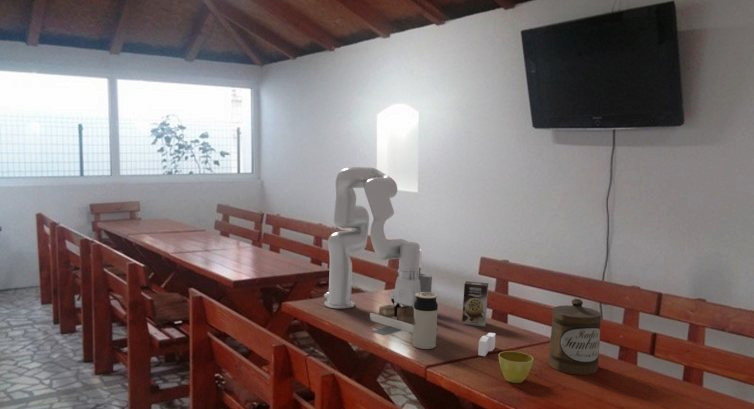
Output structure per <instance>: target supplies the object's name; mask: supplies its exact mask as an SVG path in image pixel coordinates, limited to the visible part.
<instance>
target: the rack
mask: <svg viewBox="0 0 754 409" xmlns="http://www.w3.org/2000/svg"><path fill="white" fill-rule="evenodd" d="M369 321H371V322H375V323H377V324H381V325H385V326H386V327H389V326H390V327H394V328H397V329H400V330H401V331H405V332H408V333H411V334H413V325H412V324H409V323H405V322H402V321H398V320H397V317H391V318H388V317H384V316H381V315H378V313H374V312H370V313H369Z"/></svg>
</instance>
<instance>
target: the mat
mask: <svg viewBox="0 0 754 409" xmlns="http://www.w3.org/2000/svg"><path fill="white" fill-rule="evenodd" d="M400 331H402V330H401V329H397V328H394V327H391V326H385V327H381V328H378V329H377V328H376V329H373V330H371V333H375V334H378V335H380V336H385V335H389V334H393V333H397V332H400Z"/></svg>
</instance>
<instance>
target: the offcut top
mask: <svg viewBox="0 0 754 409" xmlns="http://www.w3.org/2000/svg"><path fill="white" fill-rule="evenodd" d="M378 307H379V308H378V313H380V314H384V315H388V314H392V313H394V306H393V304H387V305H386V304H385V305H383V306H378Z"/></svg>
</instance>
